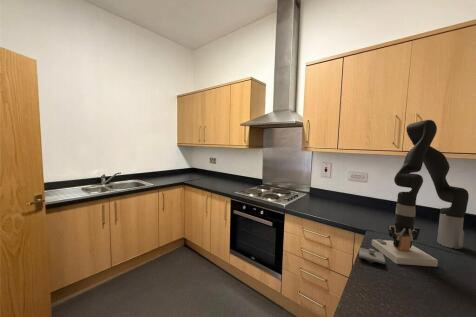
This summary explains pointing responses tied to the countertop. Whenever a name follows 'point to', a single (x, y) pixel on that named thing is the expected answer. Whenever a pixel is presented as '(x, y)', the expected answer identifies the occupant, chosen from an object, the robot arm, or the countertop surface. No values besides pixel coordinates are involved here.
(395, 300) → the countertop surface
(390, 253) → the socket
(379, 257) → the light switch
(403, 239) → the plug
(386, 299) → the countertop surface
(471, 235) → the countertop surface
